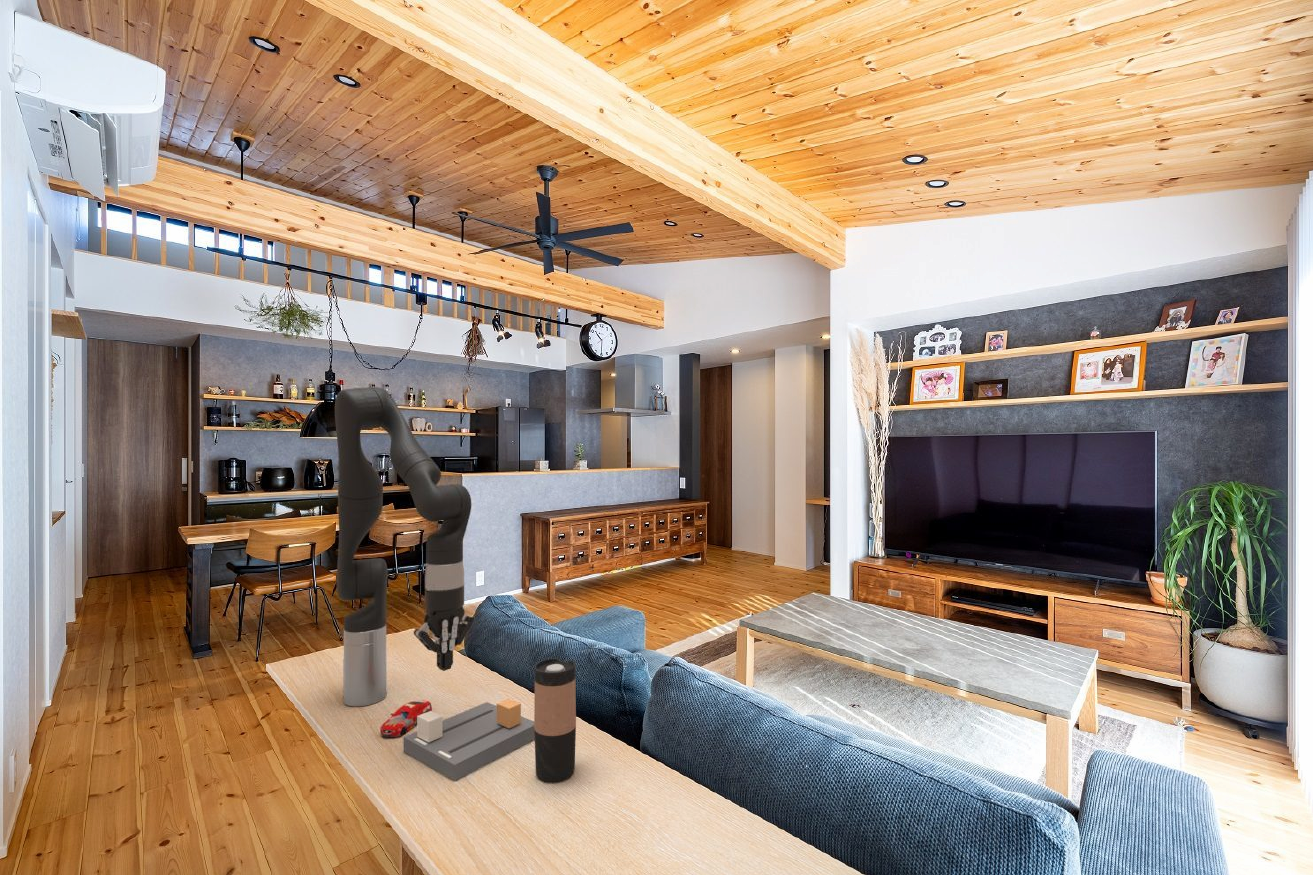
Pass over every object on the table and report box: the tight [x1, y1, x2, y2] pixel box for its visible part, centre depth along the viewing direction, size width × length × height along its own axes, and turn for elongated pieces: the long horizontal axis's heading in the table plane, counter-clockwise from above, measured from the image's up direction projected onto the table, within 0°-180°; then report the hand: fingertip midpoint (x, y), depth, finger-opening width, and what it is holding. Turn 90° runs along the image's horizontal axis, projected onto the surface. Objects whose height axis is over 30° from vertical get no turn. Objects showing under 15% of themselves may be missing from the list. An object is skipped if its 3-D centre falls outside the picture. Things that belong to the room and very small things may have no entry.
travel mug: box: [533, 657, 577, 784], centre depth 112 cm, size 8×8×20 cm
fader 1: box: [416, 710, 443, 742], centre depth 119 cm, size 4×3×4 cm
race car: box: [379, 699, 433, 738], centre depth 132 cm, size 13×5×4 cm, turn 164°
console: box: [402, 701, 535, 782], centre depth 123 cm, size 17×20×3 cm
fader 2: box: [496, 698, 522, 728], centre depth 125 cm, size 4×3×4 cm
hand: (444, 669), depth 122 cm, fingers closed
